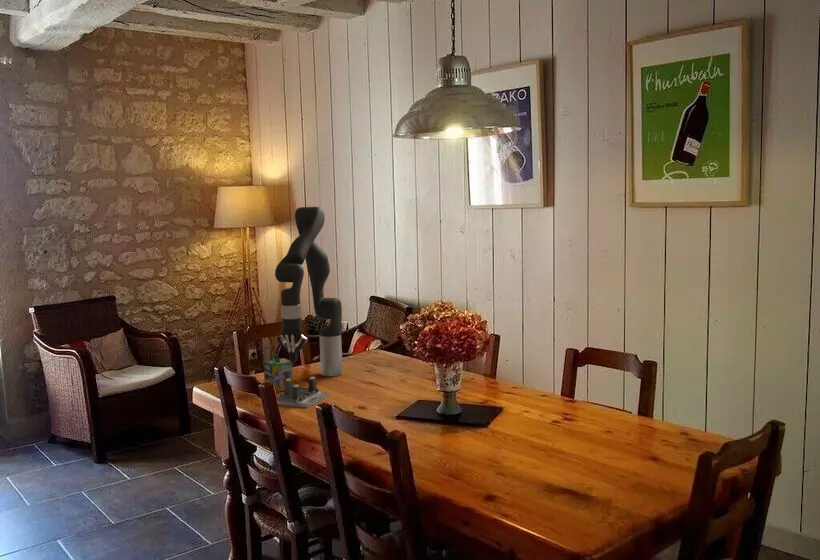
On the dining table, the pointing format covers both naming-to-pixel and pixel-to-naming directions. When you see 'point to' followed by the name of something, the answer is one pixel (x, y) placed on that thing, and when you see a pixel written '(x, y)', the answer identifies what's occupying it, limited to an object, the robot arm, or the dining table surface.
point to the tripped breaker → (288, 386)
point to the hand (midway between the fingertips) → (293, 361)
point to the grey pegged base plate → (302, 395)
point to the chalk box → (278, 372)
